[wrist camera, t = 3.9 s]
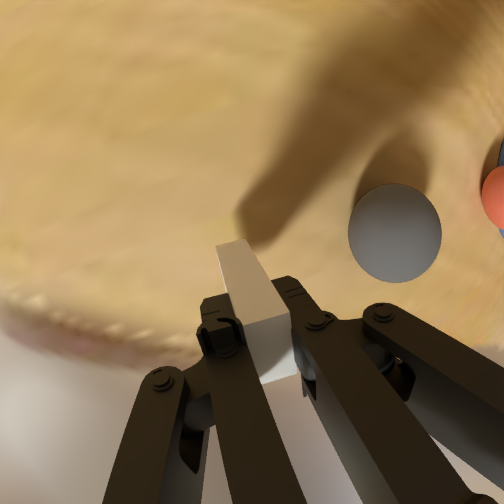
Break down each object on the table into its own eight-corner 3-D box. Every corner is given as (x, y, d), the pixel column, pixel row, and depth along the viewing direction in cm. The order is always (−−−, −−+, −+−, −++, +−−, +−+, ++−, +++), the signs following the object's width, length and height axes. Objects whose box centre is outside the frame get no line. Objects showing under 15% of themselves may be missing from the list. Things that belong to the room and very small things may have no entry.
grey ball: (399, 171, 17) (463, 189, 12) (400, 248, 19) (454, 282, 14) (327, 183, 16) (385, 207, 11) (334, 269, 18) (382, 315, 13)
